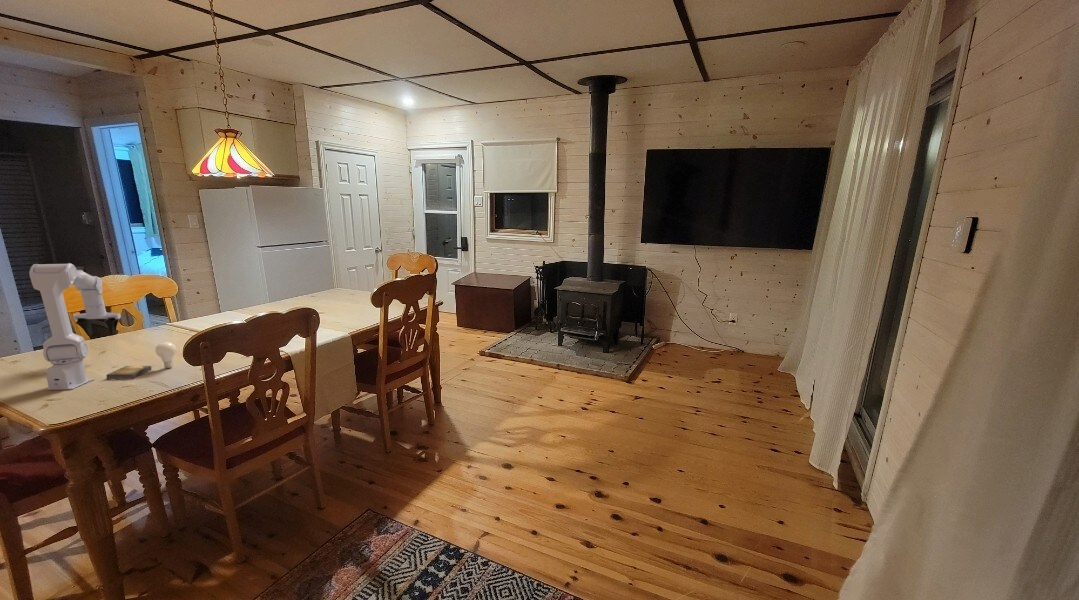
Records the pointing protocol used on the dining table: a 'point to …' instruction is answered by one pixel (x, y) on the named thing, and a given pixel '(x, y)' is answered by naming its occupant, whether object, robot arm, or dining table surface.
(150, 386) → the dining table surface
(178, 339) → the dining table surface
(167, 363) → the lightbulb
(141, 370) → the charcoal base
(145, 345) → the dining table surface
